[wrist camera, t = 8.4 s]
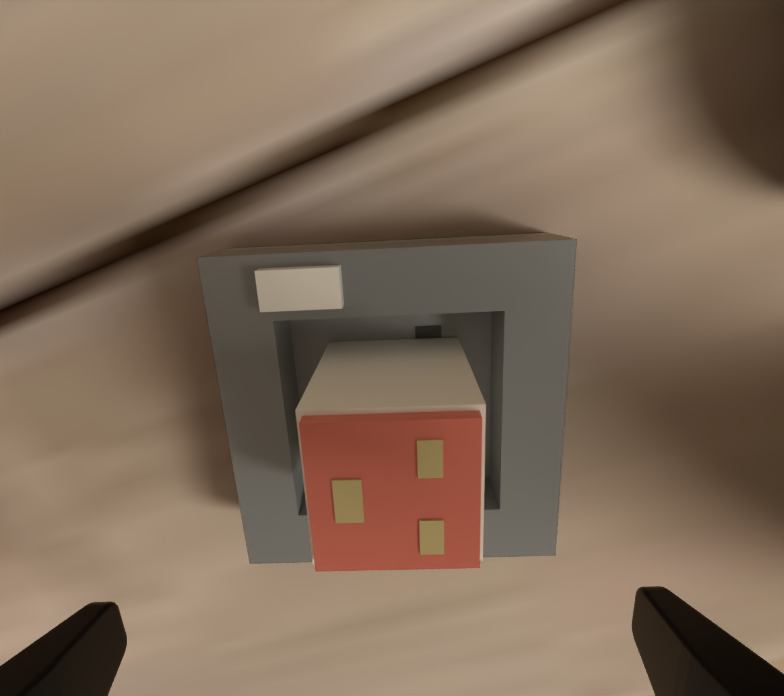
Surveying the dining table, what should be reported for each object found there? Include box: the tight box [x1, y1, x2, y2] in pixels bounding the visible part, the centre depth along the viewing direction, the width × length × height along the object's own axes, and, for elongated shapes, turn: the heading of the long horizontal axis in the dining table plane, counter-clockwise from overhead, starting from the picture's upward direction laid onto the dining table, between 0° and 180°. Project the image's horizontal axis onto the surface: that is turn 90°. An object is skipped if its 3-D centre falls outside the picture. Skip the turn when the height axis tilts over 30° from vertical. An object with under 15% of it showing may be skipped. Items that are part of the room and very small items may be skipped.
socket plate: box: [197, 233, 577, 564], centre depth 16 cm, size 11×11×3 cm
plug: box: [295, 337, 486, 571], centre depth 14 cm, size 4×4×6 cm
